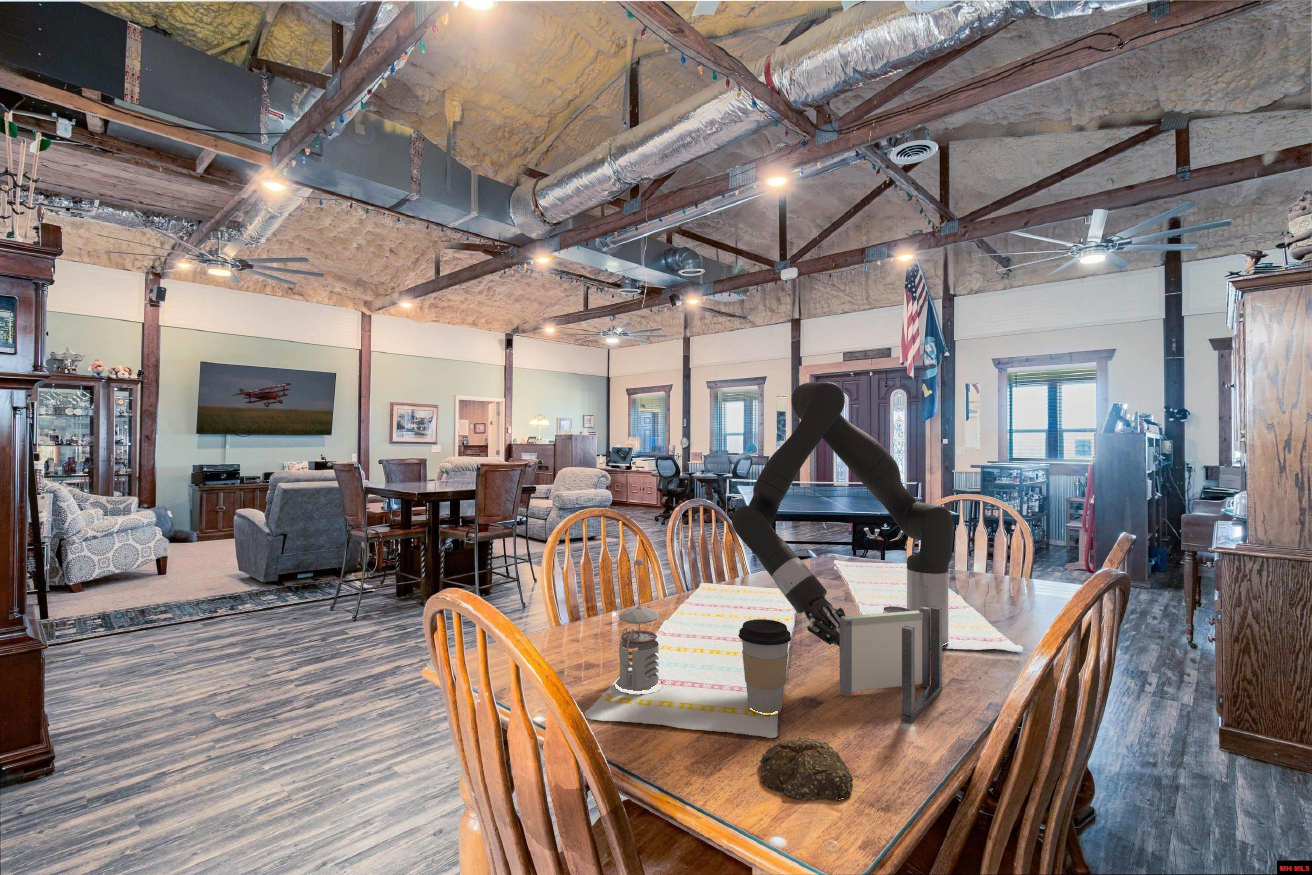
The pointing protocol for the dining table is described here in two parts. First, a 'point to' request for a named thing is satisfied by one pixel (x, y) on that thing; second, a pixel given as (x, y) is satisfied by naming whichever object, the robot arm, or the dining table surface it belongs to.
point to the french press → (647, 646)
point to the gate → (881, 649)
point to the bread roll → (806, 770)
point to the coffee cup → (765, 663)
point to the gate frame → (909, 704)
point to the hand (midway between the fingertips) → (856, 657)
